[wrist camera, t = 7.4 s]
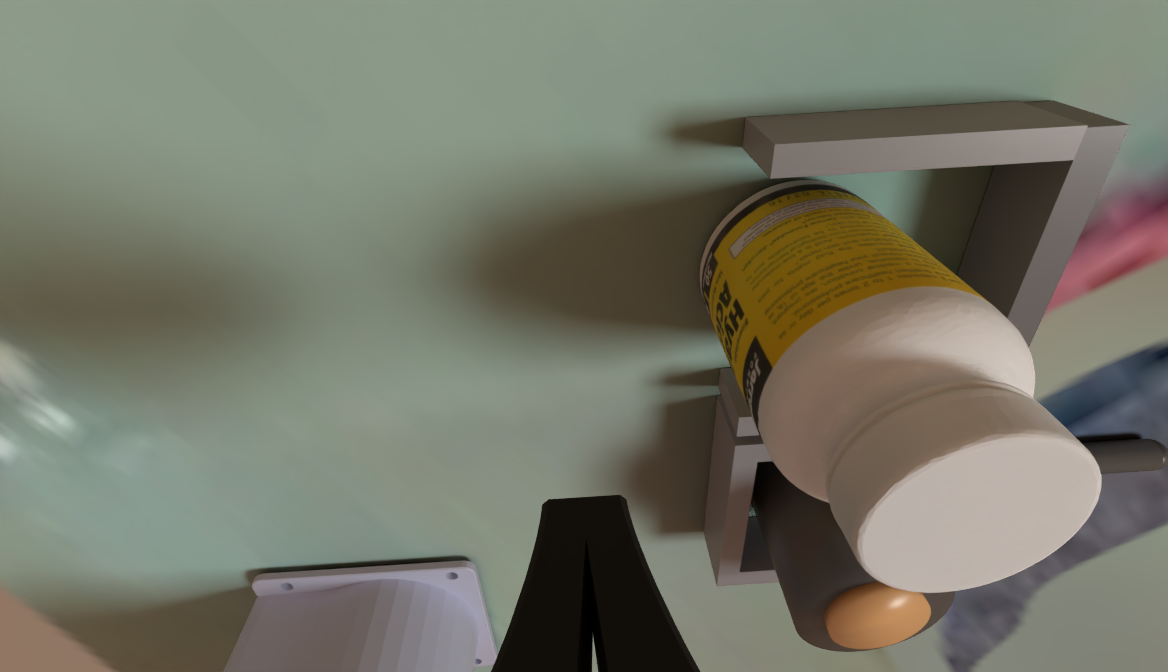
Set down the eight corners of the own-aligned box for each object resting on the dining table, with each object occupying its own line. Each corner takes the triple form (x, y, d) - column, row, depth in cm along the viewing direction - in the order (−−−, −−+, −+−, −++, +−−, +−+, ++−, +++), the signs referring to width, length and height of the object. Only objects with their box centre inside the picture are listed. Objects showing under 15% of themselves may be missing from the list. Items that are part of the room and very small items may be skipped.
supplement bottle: (666, 232, 17) (772, 484, 9) (847, 139, 16) (1162, 332, 8) (731, 362, 20) (859, 649, 12) (891, 291, 19) (1159, 555, 10)
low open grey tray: (703, 532, 25) (743, 691, 20) (745, 117, 16) (844, 209, 10) (1107, 506, 25) (1255, 658, 20) (1394, 77, 16) (1827, 148, 10)
